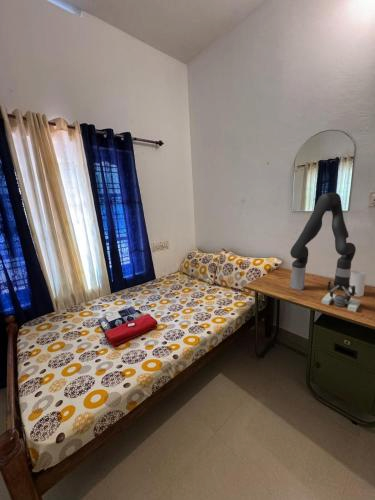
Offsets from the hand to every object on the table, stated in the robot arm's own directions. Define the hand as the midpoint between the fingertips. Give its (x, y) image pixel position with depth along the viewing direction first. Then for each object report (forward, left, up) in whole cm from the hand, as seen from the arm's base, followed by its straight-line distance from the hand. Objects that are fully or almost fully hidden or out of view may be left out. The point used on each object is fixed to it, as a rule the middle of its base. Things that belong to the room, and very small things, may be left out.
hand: (339, 298), depth 137 cm
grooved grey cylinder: (0, 0, -4) cm, 4 cm away
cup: (+4, +26, -4) cm, 27 cm away
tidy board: (0, +3, -4) cm, 5 cm away
